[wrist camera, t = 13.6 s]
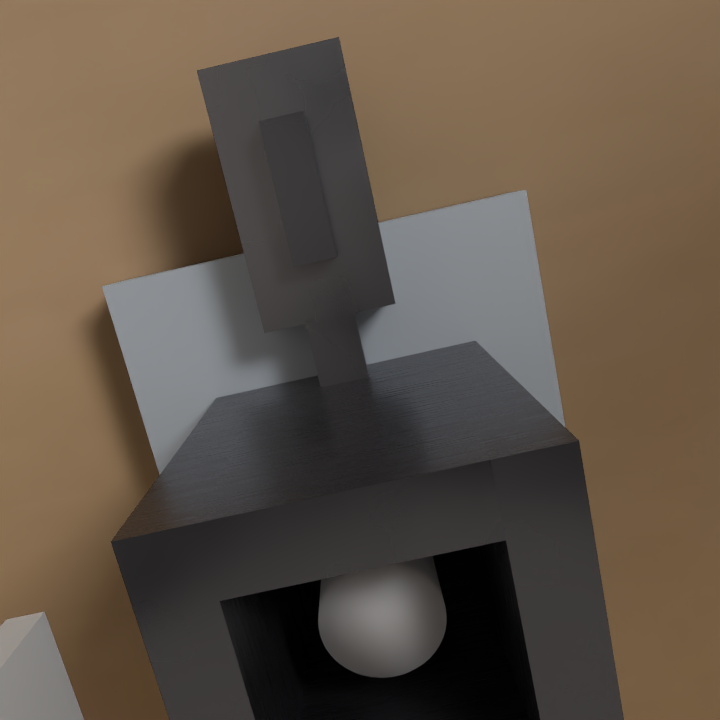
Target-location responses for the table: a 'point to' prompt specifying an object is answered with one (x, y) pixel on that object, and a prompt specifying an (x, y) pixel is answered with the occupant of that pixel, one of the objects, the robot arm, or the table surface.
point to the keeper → (380, 342)
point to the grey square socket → (357, 468)
